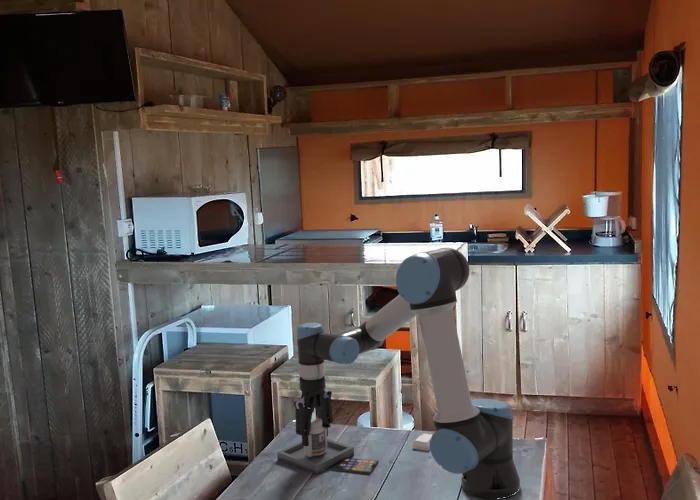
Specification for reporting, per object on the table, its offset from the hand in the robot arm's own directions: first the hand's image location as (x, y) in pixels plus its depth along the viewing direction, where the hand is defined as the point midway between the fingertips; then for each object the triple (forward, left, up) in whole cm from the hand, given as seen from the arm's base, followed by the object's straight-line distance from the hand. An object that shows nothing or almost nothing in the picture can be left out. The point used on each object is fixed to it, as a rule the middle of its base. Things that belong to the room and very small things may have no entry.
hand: (315, 451), depth 205 cm
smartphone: (-12, -2, -2) cm, 12 cm away
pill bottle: (0, 0, -1) cm, 1 cm away
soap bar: (-20, -27, -2) cm, 34 cm away
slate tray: (0, 0, -2) cm, 2 cm away
